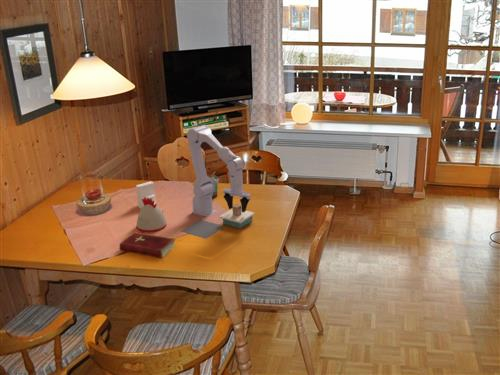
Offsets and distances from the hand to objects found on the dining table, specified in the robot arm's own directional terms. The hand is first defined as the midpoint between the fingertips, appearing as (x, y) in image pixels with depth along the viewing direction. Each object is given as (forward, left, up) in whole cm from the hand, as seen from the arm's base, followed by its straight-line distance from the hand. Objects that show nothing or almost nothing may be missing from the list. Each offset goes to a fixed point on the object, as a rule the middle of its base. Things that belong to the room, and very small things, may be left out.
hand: (237, 210), depth 268 cm
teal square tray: (0, 0, -7) cm, 7 cm away
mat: (-10, -14, -7) cm, 19 cm away
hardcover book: (-19, -41, -8) cm, 46 cm away
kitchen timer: (-33, -24, -7) cm, 41 cm away
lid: (0, 0, -3) cm, 3 cm away
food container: (-31, +22, -7) cm, 39 cm away
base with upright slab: (-53, -6, -7) cm, 54 cm away
